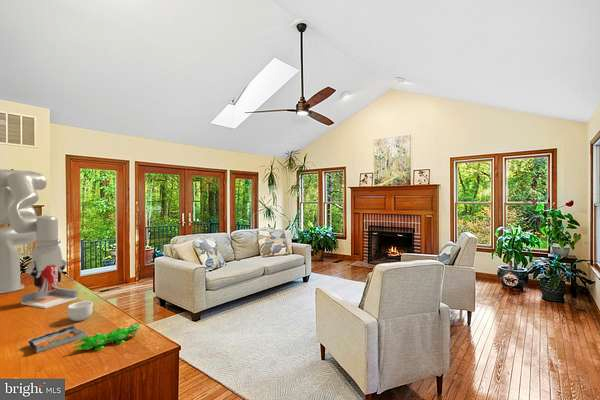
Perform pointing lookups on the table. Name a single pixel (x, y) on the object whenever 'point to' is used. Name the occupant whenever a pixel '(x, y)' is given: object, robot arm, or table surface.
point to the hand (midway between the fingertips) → (48, 283)
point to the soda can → (49, 279)
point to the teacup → (80, 310)
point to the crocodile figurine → (106, 338)
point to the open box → (49, 298)
